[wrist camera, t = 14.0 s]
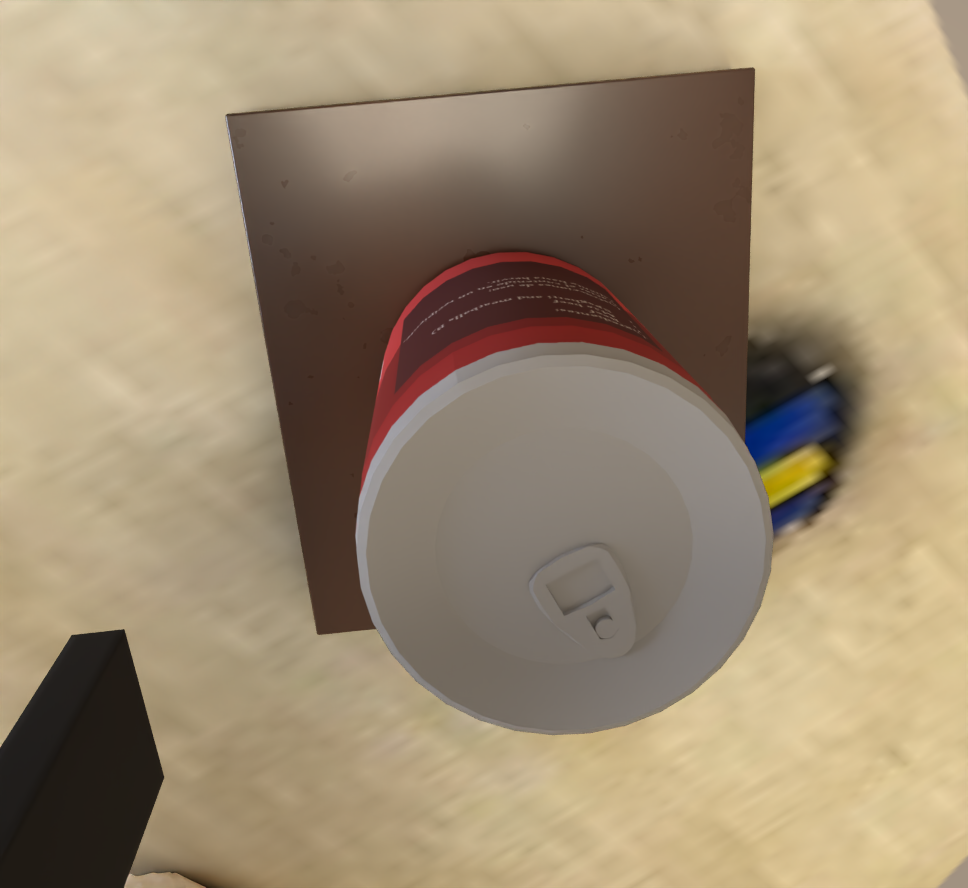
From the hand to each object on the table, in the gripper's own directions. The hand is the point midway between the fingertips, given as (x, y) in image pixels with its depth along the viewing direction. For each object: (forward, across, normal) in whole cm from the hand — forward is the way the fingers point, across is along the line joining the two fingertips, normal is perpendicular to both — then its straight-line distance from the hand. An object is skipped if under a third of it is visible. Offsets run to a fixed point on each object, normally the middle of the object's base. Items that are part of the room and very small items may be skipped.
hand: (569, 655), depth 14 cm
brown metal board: (+16, +1, 0) cm, 16 cm away
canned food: (+14, +1, 0) cm, 14 cm away
